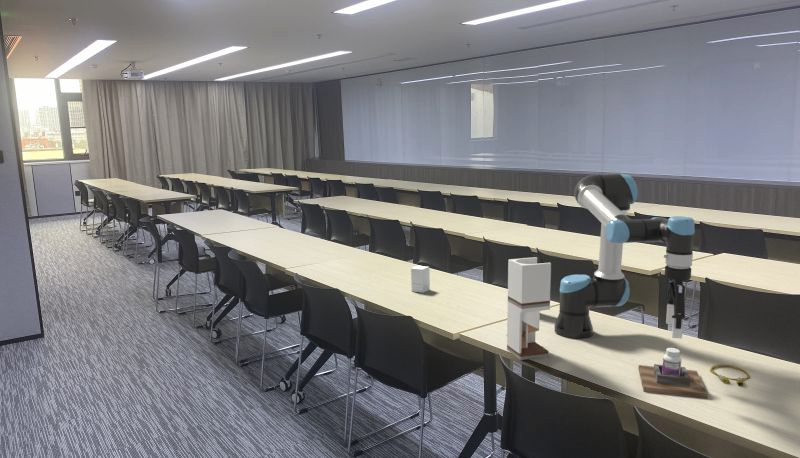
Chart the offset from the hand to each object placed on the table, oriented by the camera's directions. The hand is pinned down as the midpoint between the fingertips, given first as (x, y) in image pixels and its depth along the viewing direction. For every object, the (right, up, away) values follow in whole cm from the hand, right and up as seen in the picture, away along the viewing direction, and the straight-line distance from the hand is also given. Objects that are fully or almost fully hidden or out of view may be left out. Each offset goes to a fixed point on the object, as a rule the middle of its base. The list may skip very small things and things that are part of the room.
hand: (673, 330), depth 183 cm
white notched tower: (-40, -14, +30) cm, 52 cm away
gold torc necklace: (+22, -17, +8) cm, 29 cm away
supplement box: (-77, 0, +118) cm, 141 cm away
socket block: (0, -17, +3) cm, 18 cm away
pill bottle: (0, -16, +3) cm, 16 cm away
